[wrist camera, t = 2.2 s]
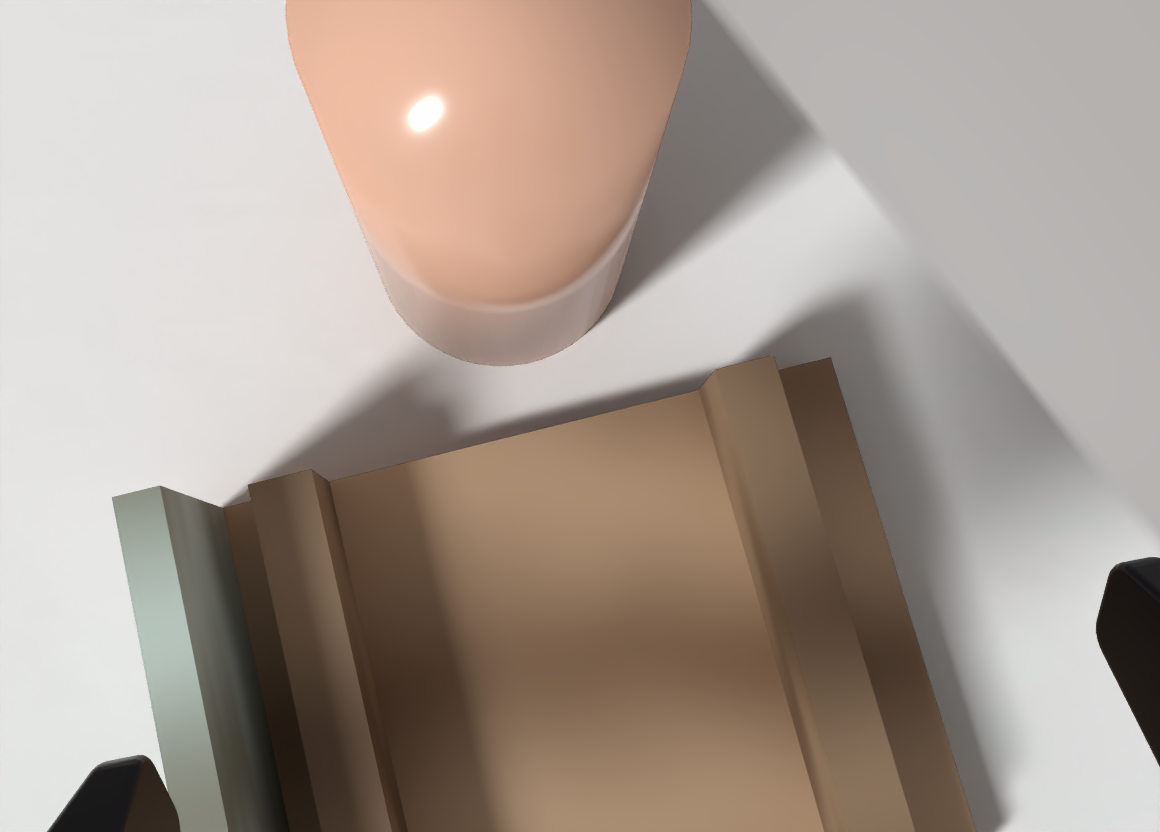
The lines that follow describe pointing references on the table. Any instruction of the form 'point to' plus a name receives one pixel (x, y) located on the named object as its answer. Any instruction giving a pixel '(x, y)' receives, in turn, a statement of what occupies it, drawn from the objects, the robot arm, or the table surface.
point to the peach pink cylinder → (494, 153)
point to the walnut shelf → (551, 634)
